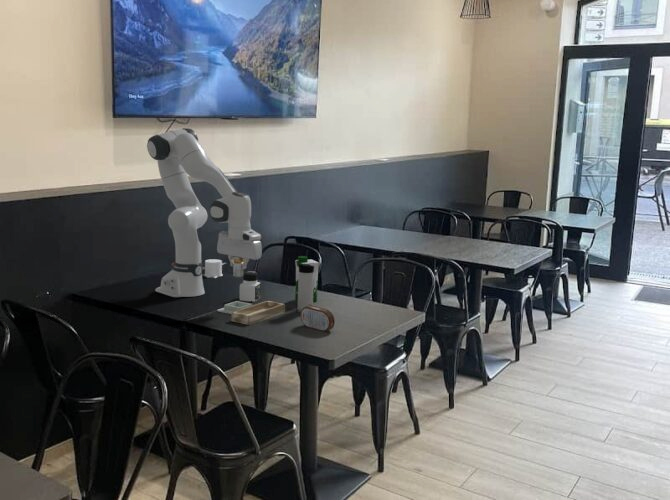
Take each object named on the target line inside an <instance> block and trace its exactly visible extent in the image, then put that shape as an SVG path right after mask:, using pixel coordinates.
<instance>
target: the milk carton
mask: <svg viewBox="0 0 670 500" xmlns="http://www.w3.org/2000/svg"><path fill="white" fill-rule="evenodd" d="M308 257H309V256H306V255H305V256H304V255H300V256H299V255H298V256H297V259H296V260H295V259H294V260H295V297H294V299H295V301H297V302H298V276H299V264H309V265H311V266H314V288H313V303H317V302H318V283H319V282H318V281H319V280H318V278H319V276H318V274H319V267H320V266H319V265H320V263H319V262H318V261H316V260H314V259H308Z"/></svg>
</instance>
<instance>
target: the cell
mask: <svg viewBox="0 0 670 500" xmlns="http://www.w3.org/2000/svg"><path fill="white" fill-rule="evenodd" d="M233 259H234V260H233V263H234V265H233V267H232V270H233V271H232V273H233V274H232V276H233V277H235V278H241V277H242V278H243V274H244V269H243V268H241V264H243V263H244V260H243V258H242V257H237V256H234V257H233Z"/></svg>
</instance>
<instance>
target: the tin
mask: <svg viewBox="0 0 670 500" xmlns="http://www.w3.org/2000/svg"><path fill="white" fill-rule="evenodd" d="M300 320H301V322H302V324H303V325H304V326H305V327H306V328H310V329H313V330H315V331H320V332H328V331H330V330H332V329H334V327H335V322H336V321H335V317H334V315H333V313H332V312H331V311H330V310H329V309H327V308H323V307H321V306H316V305H314V304H313V305H308V306H306V307H304V308H303V309H302V310H301V312H300Z"/></svg>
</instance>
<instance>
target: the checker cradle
mask: <svg viewBox="0 0 670 500" xmlns="http://www.w3.org/2000/svg"><path fill="white" fill-rule="evenodd" d="M252 305H253V303H249V302H246V301H240V300H235V301H232V302H229V303H226V304H224V305H223V306H224V307H222V308H219V309H217V310H216V312H219V313H224V314H229V315H231V312H234V311H237V310H240V309H243V308H246V307H249V306H252Z"/></svg>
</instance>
